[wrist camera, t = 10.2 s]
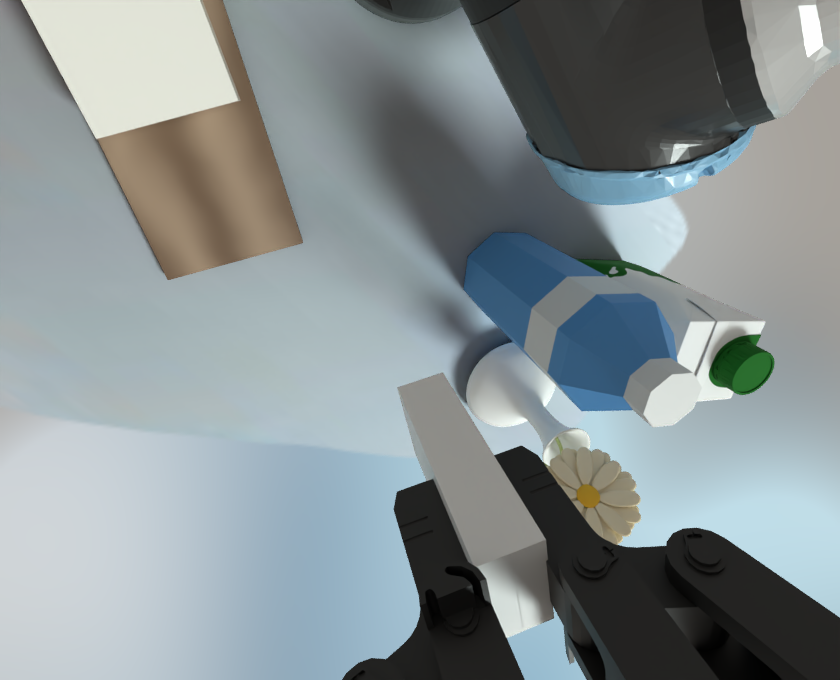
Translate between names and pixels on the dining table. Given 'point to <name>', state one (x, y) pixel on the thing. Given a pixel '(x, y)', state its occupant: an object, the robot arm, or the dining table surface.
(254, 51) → the dining table surface
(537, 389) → the flower in vase
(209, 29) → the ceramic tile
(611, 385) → the water bottle
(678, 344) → the milk carton
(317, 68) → the dining table surface
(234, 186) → the walnut board
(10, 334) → the dining table surface
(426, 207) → the dining table surface
